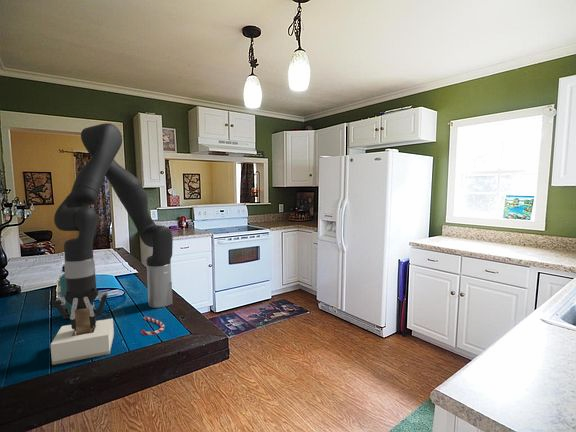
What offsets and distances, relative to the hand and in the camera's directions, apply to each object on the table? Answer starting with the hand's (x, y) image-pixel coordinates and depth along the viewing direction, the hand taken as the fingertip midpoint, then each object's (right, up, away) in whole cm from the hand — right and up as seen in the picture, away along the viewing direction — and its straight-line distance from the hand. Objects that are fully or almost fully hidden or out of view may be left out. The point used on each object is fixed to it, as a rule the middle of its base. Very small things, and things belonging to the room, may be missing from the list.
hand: (84, 328), depth 94 cm
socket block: (0, -7, +1) cm, 7 cm away
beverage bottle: (-20, -4, +23) cm, 31 cm away
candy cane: (+13, -6, +16) cm, 21 cm away
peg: (0, -3, 0) cm, 3 cm away
